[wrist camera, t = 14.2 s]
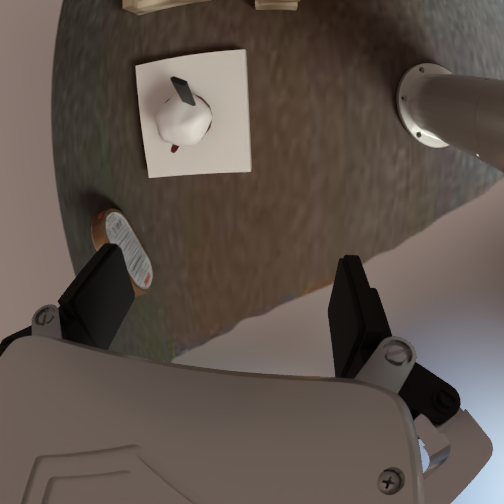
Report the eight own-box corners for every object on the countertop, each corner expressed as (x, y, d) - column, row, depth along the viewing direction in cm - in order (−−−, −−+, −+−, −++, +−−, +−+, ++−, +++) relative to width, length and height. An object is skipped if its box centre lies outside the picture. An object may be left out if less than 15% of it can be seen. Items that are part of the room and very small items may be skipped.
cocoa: (186, 153, 35) (153, 190, 25) (153, 121, 32) (107, 147, 22) (240, 104, 31) (225, 119, 21) (205, 69, 28) (172, 69, 18)
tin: (106, 204, 41) (79, 229, 34) (120, 197, 40) (94, 222, 33) (148, 276, 49) (131, 308, 41) (162, 272, 48) (146, 305, 41)
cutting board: (246, 51, 28) (244, 49, 27) (251, 167, 37) (250, 171, 35) (141, 66, 29) (135, 65, 28) (154, 173, 38) (149, 177, 36)
